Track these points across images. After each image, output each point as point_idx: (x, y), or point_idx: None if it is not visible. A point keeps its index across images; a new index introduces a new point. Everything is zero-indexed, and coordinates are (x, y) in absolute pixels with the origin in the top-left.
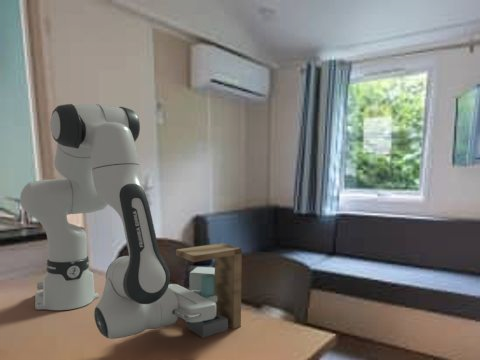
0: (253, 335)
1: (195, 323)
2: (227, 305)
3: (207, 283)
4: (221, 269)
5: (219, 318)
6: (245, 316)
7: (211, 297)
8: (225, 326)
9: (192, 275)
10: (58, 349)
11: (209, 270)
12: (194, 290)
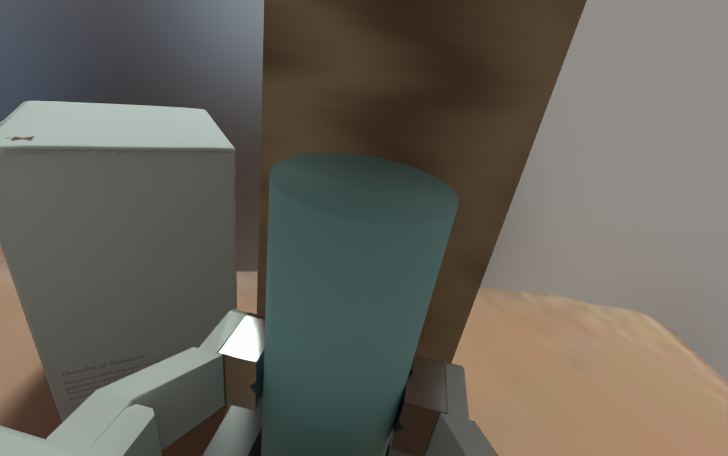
0: (542, 437)
1: None
2: None
3: (418, 292)
4: (357, 105)
5: (390, 451)
6: None
7: (483, 436)
8: None
9: (19, 174)
10: None
11: (169, 123)
12: (152, 373)
